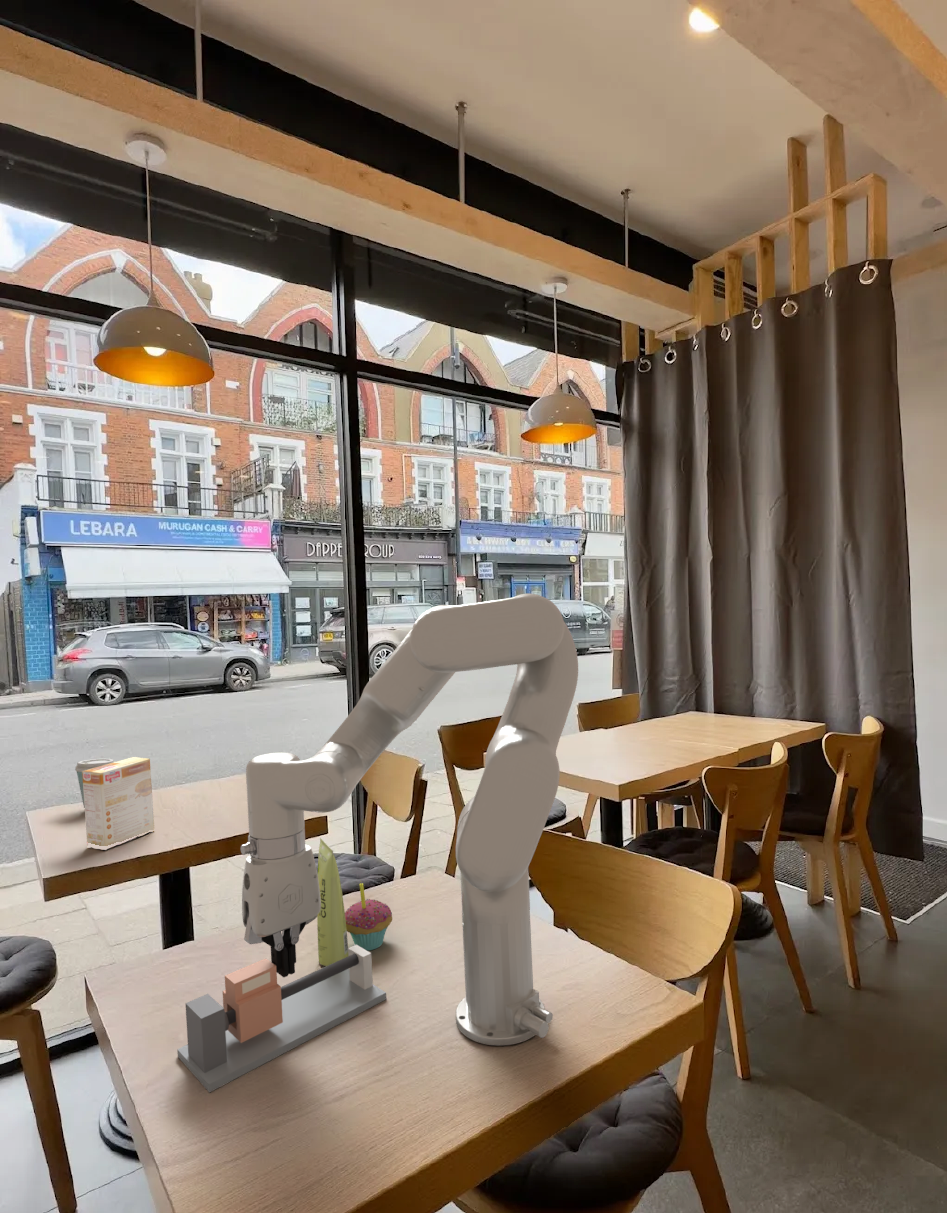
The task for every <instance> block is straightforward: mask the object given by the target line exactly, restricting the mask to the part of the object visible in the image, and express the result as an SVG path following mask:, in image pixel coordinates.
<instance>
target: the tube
mask: <svg viewBox="0 0 947 1213" xmlns="http://www.w3.org/2000/svg"><path fill="white" fill-rule="evenodd" d="M319 840H320V841H319V847H318V848H319V849H318V858H317V860H318V861H317V863H318V864H317V874H318V881H319V888H320V898H321V909H320V912H319V914H318V915H317V918H316V922H317V925H316V926H317V928H316V929H317V951H318V953H317V954H318V963H319V964H320V965H322V966H324V967H326V966H328V965H330V964H333V963H335V962H337V961H339V960H341V959H343V958H346V957H348V948H349V944H348V943H349V942H348V932H347V930H346V920H345V912H346V910H345V904H344V898H343V897H344V896H343V889H342V885H341V884H342V883H341V878H340V873H339V868H338V864H337V860H336V857H335V855H334V850H333V848H331V847H330V846H329V845H328V844H327V843H326V842H325V840H323V838H322V837H320V838H319Z"/></svg>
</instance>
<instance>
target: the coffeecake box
mask: <svg viewBox="0 0 947 1213" xmlns="http://www.w3.org/2000/svg"><path fill="white" fill-rule="evenodd" d="M151 772H152V770H151V759H150V758H149V757H148V758H147V757H146V758H145V757H139V756H132V757H128V758H125V759H121V760H118V761H115V762H114V763H110V764H106V765H103V766H99V767H96V768H92V769H89V770H85V771H82V777H83V792H84V805H85V810H84V816H85V817H84V818H85V831H86V832H85V833H86V843H87V842H88V843H91V844H95V845H99V846H108V845H111V844H114V843H116V842H122V841H124V840H126V839H129V838H132V837H134V836H137V835H139V834H142V833H145V832H148V831H149V830H154V829H155V816H154V804H153V803H154V801H153V788H152V774H151ZM84 805H83V806H84Z"/></svg>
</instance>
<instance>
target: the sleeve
mask: <svg viewBox="0 0 947 1213" xmlns="http://www.w3.org/2000/svg"><path fill="white" fill-rule="evenodd" d="M277 974H278V973H277V971H276V965H274V964H273V963H272V962H271V960H269V959H267V958H263V959H261V960H258V961H255V962H254V963H251V964H249V965H247V966H244V967H241V968H240V969H237V970H234V971H233V972H231V973H227V974H225V975H224V986H225V989H224V990H222V1004H223V1005H222V1007H223V1008H224V1011H225V1012H227V1011H230V1010H232V1009H234V1010H235V1011H236V1022H234V1023H232V1024H230V1025H229V1028H228V1031H229V1032H230V1033H231V1034H232V1035H233V1036H234V1037H235V1038H236V1039H238V1040H239V1041H240V1042H241V1043H242V1042H244V1041H246V1040H248V1039H250V1038H252V1037H254V1036H256V1035H258V1034H260V1033H262V1032H264V1031H266V1030H269V1029H271V1028H273V1027H275V1026H277V1025H279V1024H281V1023H283V1017H282V999H281V987H282V986H281V985H279V984H278V975H277Z"/></svg>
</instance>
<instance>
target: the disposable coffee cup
mask: <svg viewBox="0 0 947 1213" xmlns="http://www.w3.org/2000/svg"><path fill="white" fill-rule="evenodd" d="M114 762H116V761H115V760H114V759H112V758H91V759H85V760H80V761H78V762H77V765H76V766H75V769H74V770H75V771H76V775H77V780H78V785H79V790H80V796H81V800H82V804H83V809H84V808H85V805H84V792H83V777H82V771H85V770H89V769H92V768H96V767H99V766H103V765H106V764H110V763H114Z"/></svg>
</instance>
